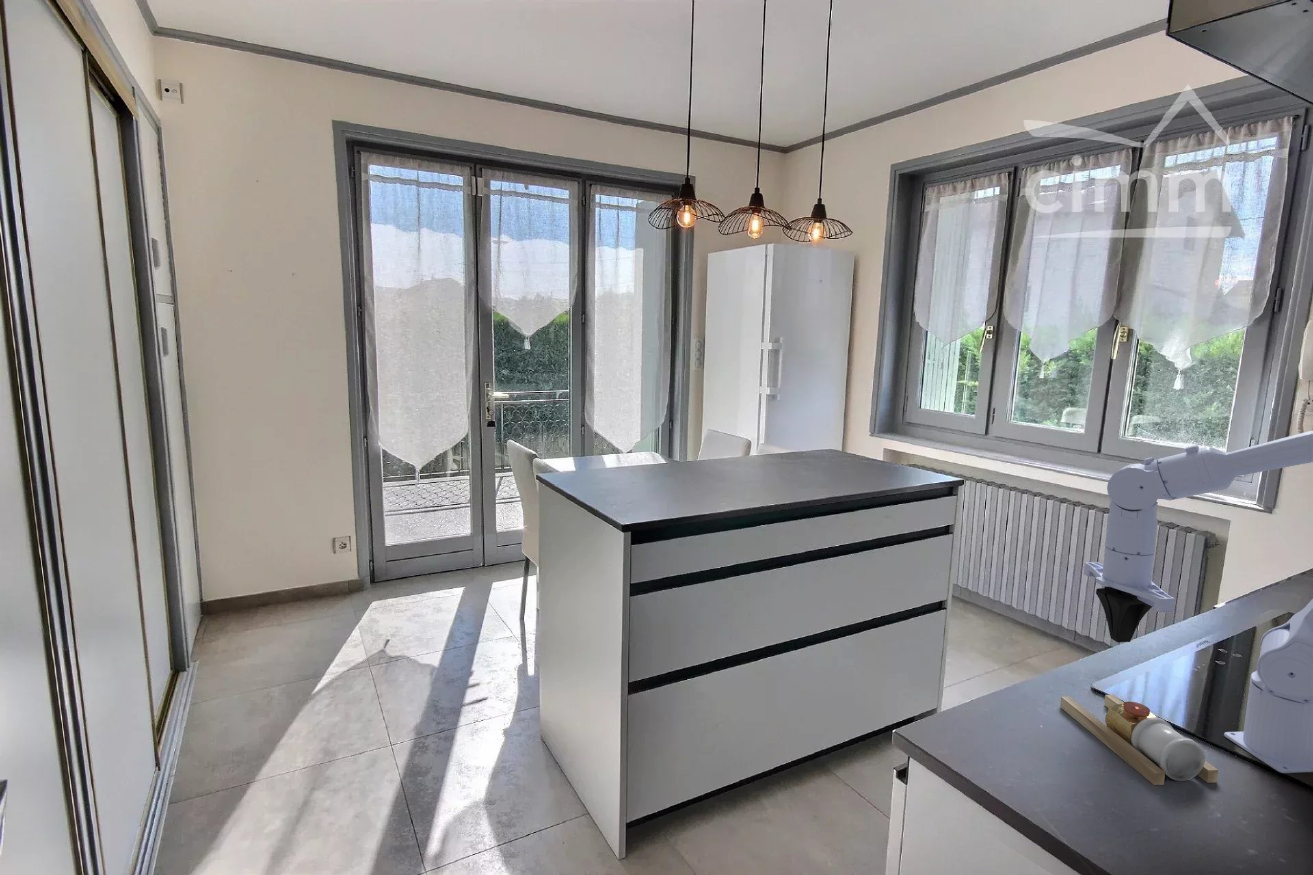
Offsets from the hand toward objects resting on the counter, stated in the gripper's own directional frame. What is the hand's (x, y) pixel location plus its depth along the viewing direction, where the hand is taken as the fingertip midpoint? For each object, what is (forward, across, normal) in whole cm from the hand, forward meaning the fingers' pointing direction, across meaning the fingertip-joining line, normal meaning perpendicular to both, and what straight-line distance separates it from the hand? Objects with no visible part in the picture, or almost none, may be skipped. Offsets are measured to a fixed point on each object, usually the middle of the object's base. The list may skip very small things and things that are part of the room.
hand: (1120, 640), depth 96 cm
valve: (+9, +10, -5) cm, 15 cm away
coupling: (+9, +15, -5) cm, 18 cm away
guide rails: (+9, +10, -5) cm, 14 cm away
